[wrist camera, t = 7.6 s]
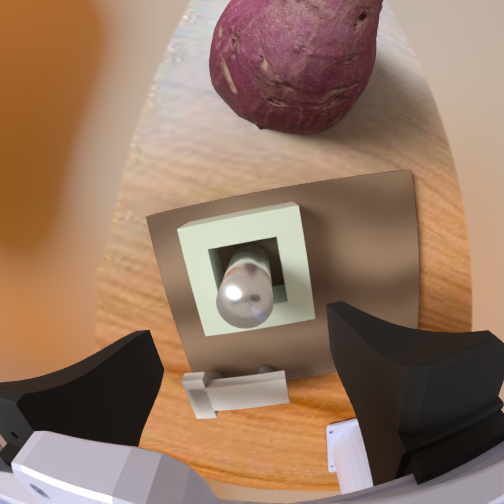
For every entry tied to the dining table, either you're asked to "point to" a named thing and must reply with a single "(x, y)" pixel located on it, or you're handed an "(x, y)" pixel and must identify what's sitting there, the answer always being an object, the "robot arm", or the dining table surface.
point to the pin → (246, 288)
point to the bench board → (321, 277)
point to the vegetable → (294, 60)
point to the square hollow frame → (240, 231)
